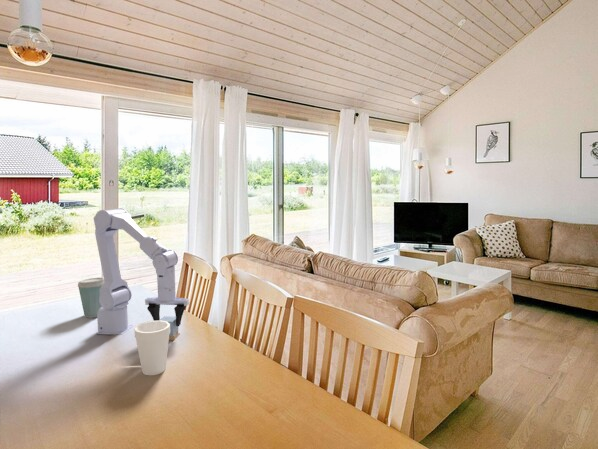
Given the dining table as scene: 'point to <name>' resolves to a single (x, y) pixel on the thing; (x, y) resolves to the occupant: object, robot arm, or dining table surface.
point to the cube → (171, 324)
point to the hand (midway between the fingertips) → (167, 325)
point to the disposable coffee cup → (90, 295)
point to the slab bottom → (176, 337)
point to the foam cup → (152, 346)
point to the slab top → (173, 336)
